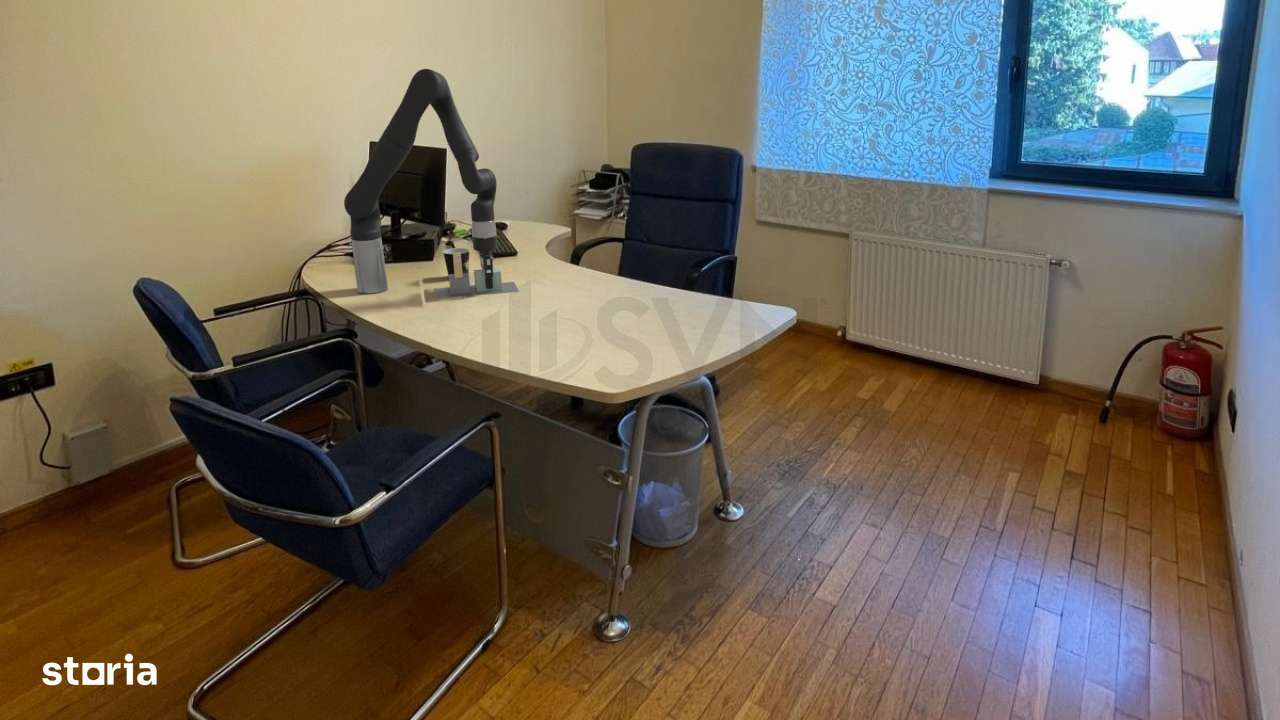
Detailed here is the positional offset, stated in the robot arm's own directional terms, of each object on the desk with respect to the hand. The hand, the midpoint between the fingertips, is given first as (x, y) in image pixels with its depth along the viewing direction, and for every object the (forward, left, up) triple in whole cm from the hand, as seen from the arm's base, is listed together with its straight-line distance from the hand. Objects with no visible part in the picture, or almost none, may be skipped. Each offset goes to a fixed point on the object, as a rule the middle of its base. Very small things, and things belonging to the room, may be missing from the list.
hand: (488, 285), depth 258 cm
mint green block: (0, 0, -1) cm, 1 cm away
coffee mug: (-7, +19, -2) cm, 20 cm away
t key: (-9, 0, +4) cm, 10 cm away
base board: (-4, 0, -2) cm, 5 cm away
